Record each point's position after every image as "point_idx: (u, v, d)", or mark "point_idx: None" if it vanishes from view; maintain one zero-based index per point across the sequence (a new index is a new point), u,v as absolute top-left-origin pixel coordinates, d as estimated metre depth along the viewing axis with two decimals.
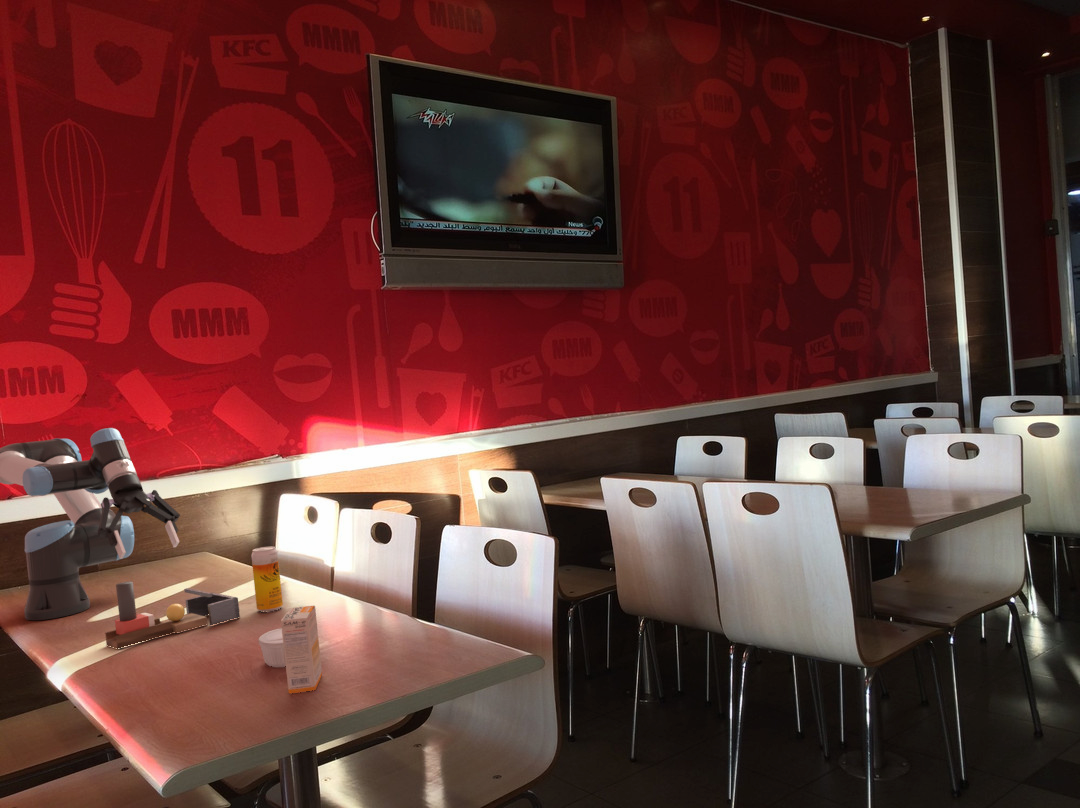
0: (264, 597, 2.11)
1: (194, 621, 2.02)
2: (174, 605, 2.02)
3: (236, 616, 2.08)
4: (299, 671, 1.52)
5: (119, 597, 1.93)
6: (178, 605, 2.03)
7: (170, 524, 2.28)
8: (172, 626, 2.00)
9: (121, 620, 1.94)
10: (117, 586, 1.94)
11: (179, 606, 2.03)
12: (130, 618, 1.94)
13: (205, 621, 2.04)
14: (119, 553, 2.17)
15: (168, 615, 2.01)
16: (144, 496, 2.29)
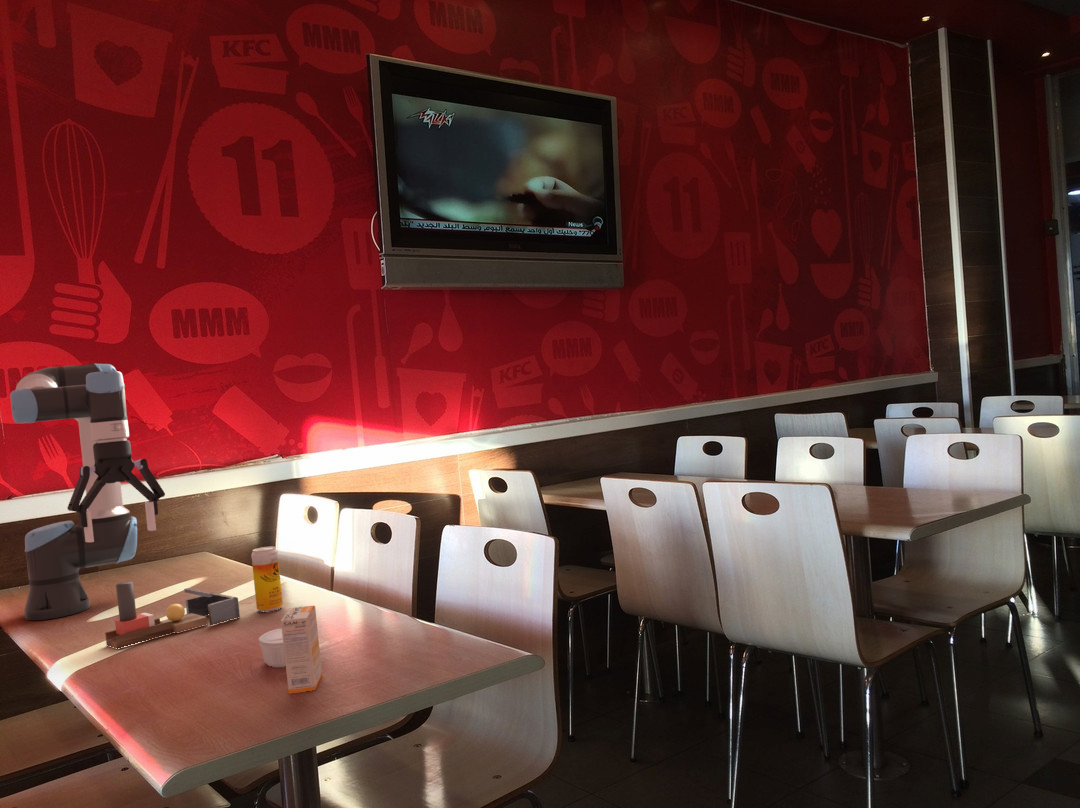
0: (264, 597, 2.11)
1: (194, 621, 2.02)
2: (174, 605, 2.02)
3: (236, 616, 2.08)
4: (299, 671, 1.52)
5: (119, 597, 1.93)
6: (178, 605, 2.03)
7: (151, 507, 2.00)
8: (172, 626, 2.00)
9: (121, 620, 1.94)
10: (117, 586, 1.94)
11: (179, 606, 2.03)
12: (130, 618, 1.94)
13: (205, 621, 2.04)
14: (86, 537, 1.91)
15: (168, 615, 2.01)
16: (131, 466, 1.97)
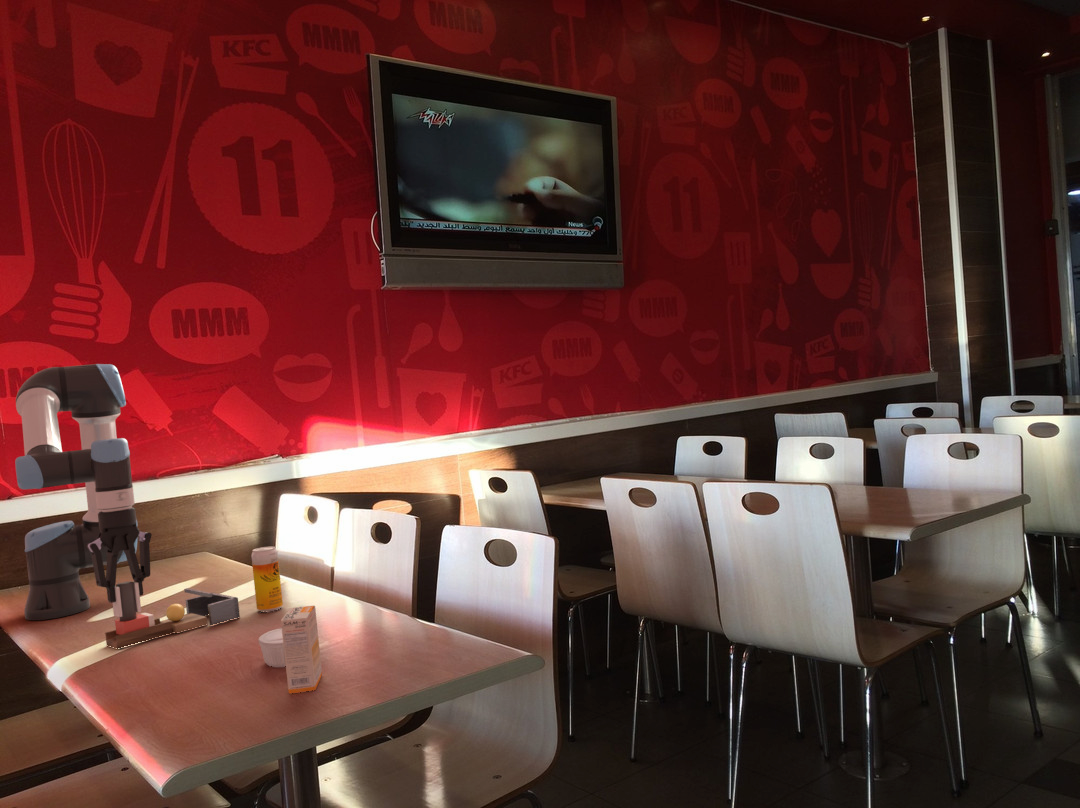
0: (264, 597, 2.11)
1: (194, 621, 2.02)
2: (174, 605, 2.02)
3: (236, 616, 2.08)
4: (299, 671, 1.52)
5: None
6: (178, 605, 2.03)
7: (136, 588, 1.95)
8: (172, 626, 2.00)
9: (121, 620, 1.94)
10: (117, 586, 1.94)
11: (179, 606, 2.03)
12: (130, 618, 1.94)
13: (205, 621, 2.04)
14: (115, 612, 1.94)
15: (168, 615, 2.01)
16: (135, 534, 1.96)
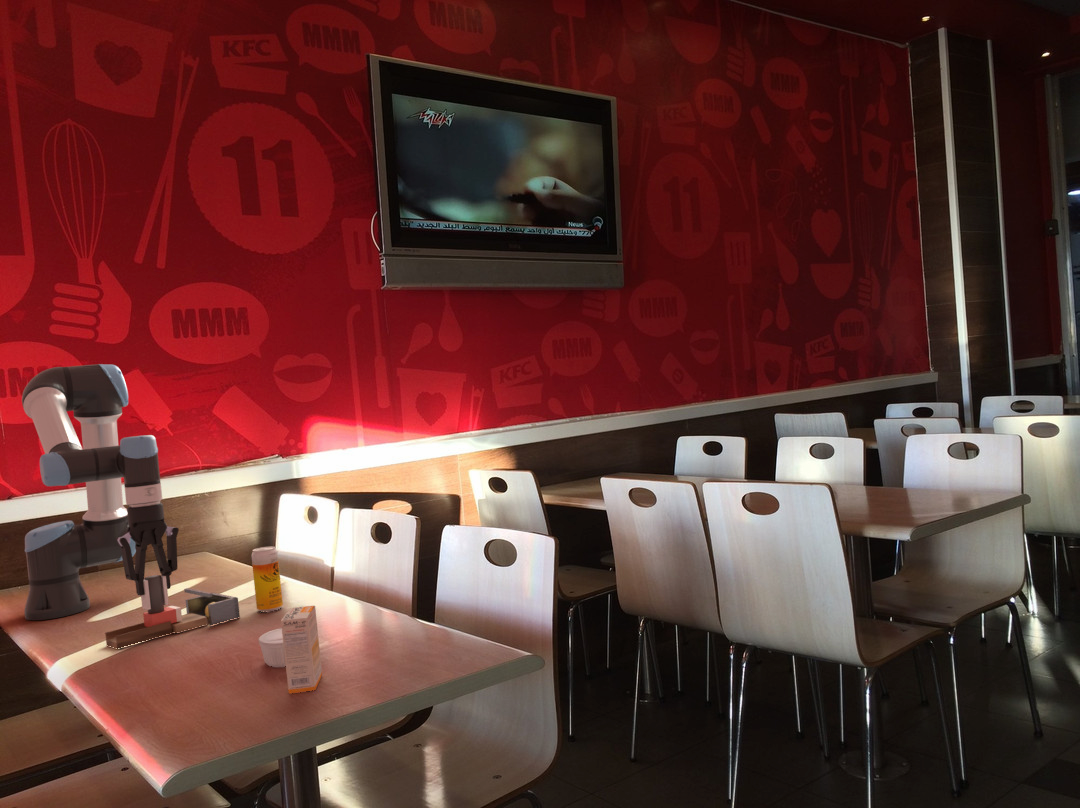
0: (264, 597, 2.11)
1: (194, 621, 2.02)
2: (208, 615, 2.08)
3: (236, 616, 2.08)
4: (299, 671, 1.52)
5: None
6: None
7: (164, 581, 2.00)
8: (172, 626, 2.00)
9: (149, 613, 1.98)
10: (145, 579, 1.98)
11: None
12: (158, 611, 1.98)
13: (205, 621, 2.04)
14: (143, 604, 1.98)
15: None
16: (162, 529, 2.01)
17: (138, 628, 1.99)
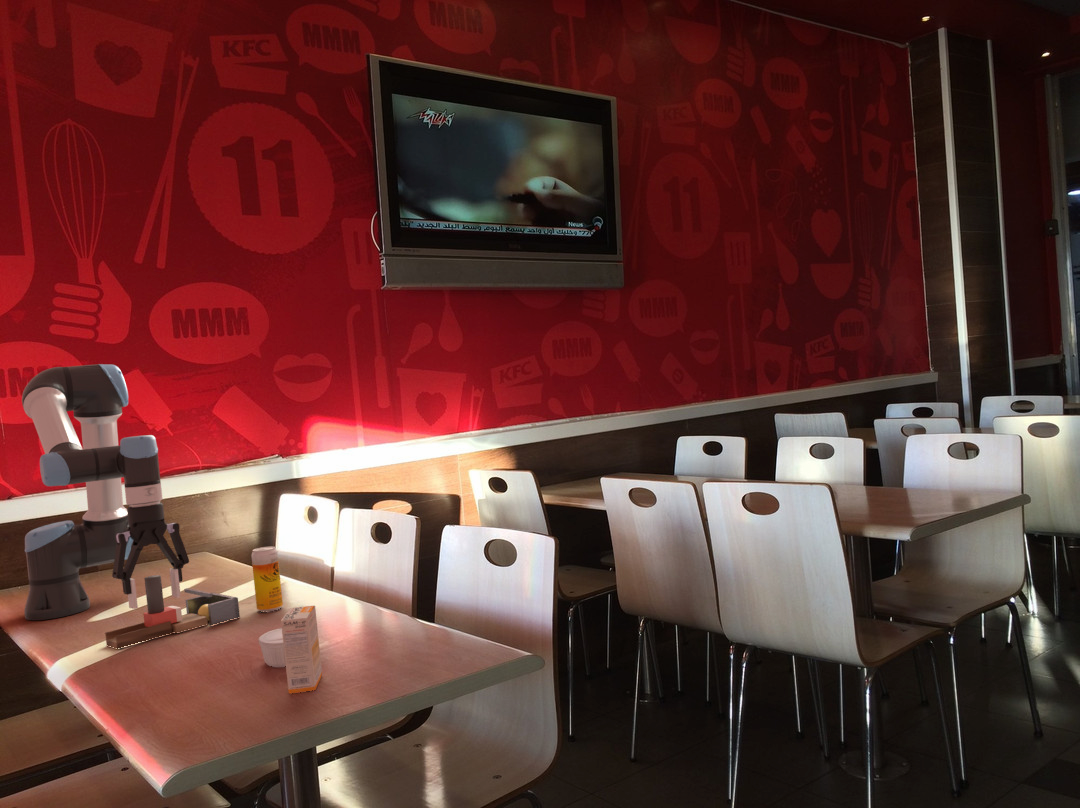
0: (264, 597, 2.11)
1: (194, 621, 2.02)
2: None
3: (236, 616, 2.08)
4: (299, 671, 1.52)
5: (148, 590, 1.98)
6: None
7: (176, 574, 2.02)
8: (172, 626, 2.00)
9: (149, 613, 1.98)
10: (146, 579, 1.98)
11: None
12: (158, 611, 1.98)
13: (205, 621, 2.04)
14: (130, 603, 1.96)
15: None
16: (163, 529, 2.01)
17: (138, 628, 1.99)
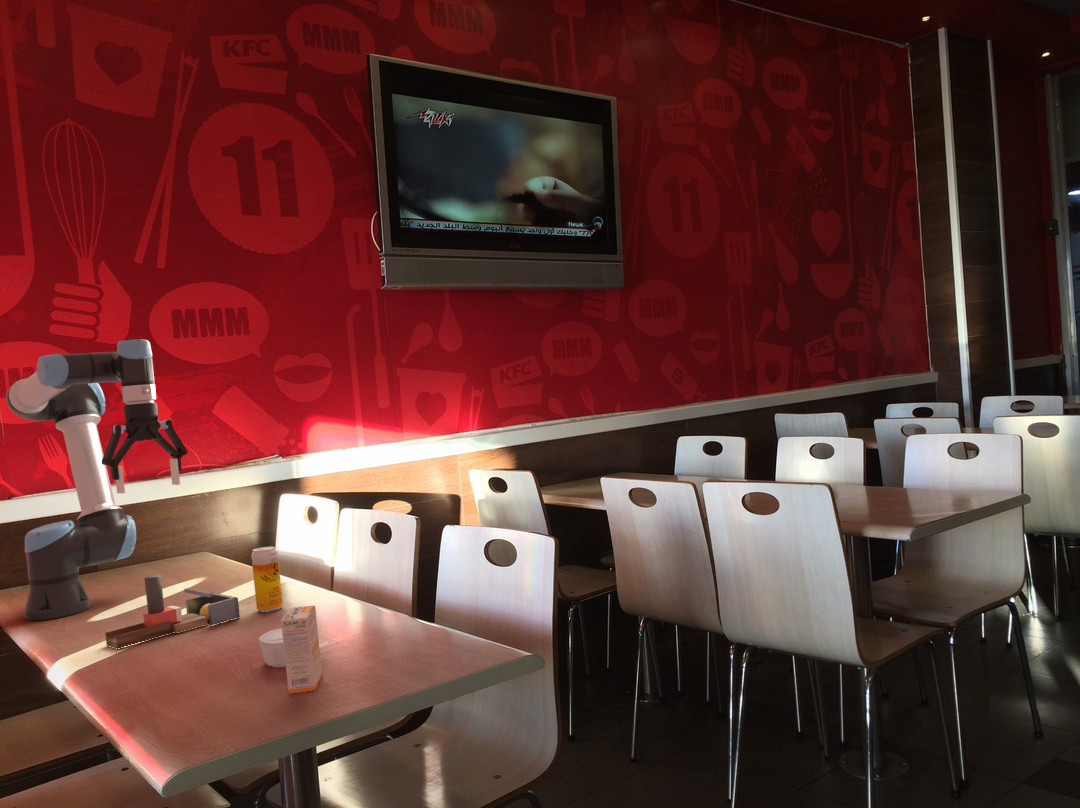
0: (264, 597, 2.11)
1: (194, 621, 2.02)
2: None
3: (236, 616, 2.08)
4: (299, 671, 1.52)
5: (148, 590, 1.98)
6: None
7: (175, 463, 2.21)
8: (172, 626, 2.00)
9: (149, 613, 1.98)
10: (146, 579, 1.98)
11: (206, 616, 2.07)
12: (158, 611, 1.98)
13: (205, 621, 2.04)
14: (118, 489, 2.12)
15: None
16: (157, 426, 2.18)
17: (138, 628, 1.99)
